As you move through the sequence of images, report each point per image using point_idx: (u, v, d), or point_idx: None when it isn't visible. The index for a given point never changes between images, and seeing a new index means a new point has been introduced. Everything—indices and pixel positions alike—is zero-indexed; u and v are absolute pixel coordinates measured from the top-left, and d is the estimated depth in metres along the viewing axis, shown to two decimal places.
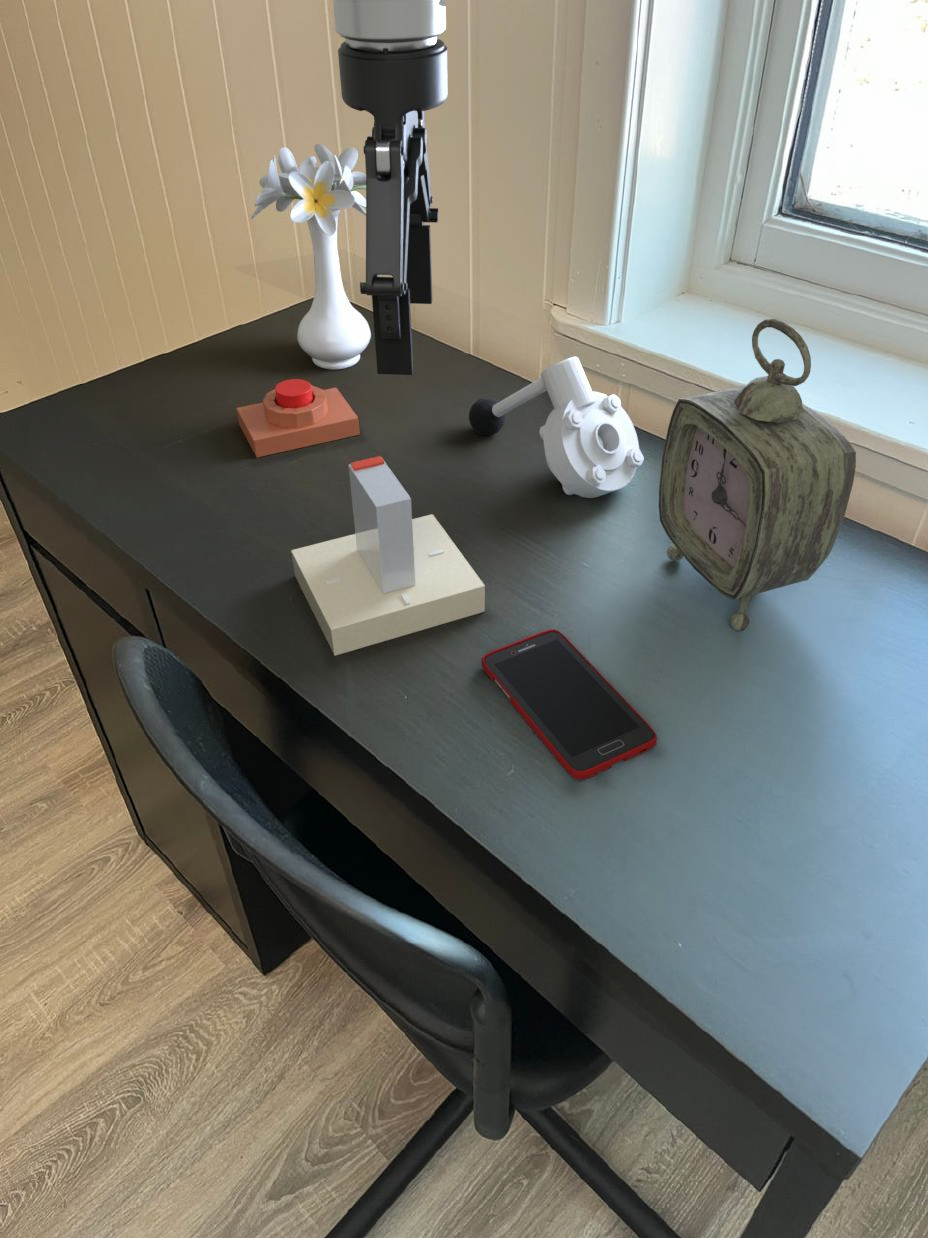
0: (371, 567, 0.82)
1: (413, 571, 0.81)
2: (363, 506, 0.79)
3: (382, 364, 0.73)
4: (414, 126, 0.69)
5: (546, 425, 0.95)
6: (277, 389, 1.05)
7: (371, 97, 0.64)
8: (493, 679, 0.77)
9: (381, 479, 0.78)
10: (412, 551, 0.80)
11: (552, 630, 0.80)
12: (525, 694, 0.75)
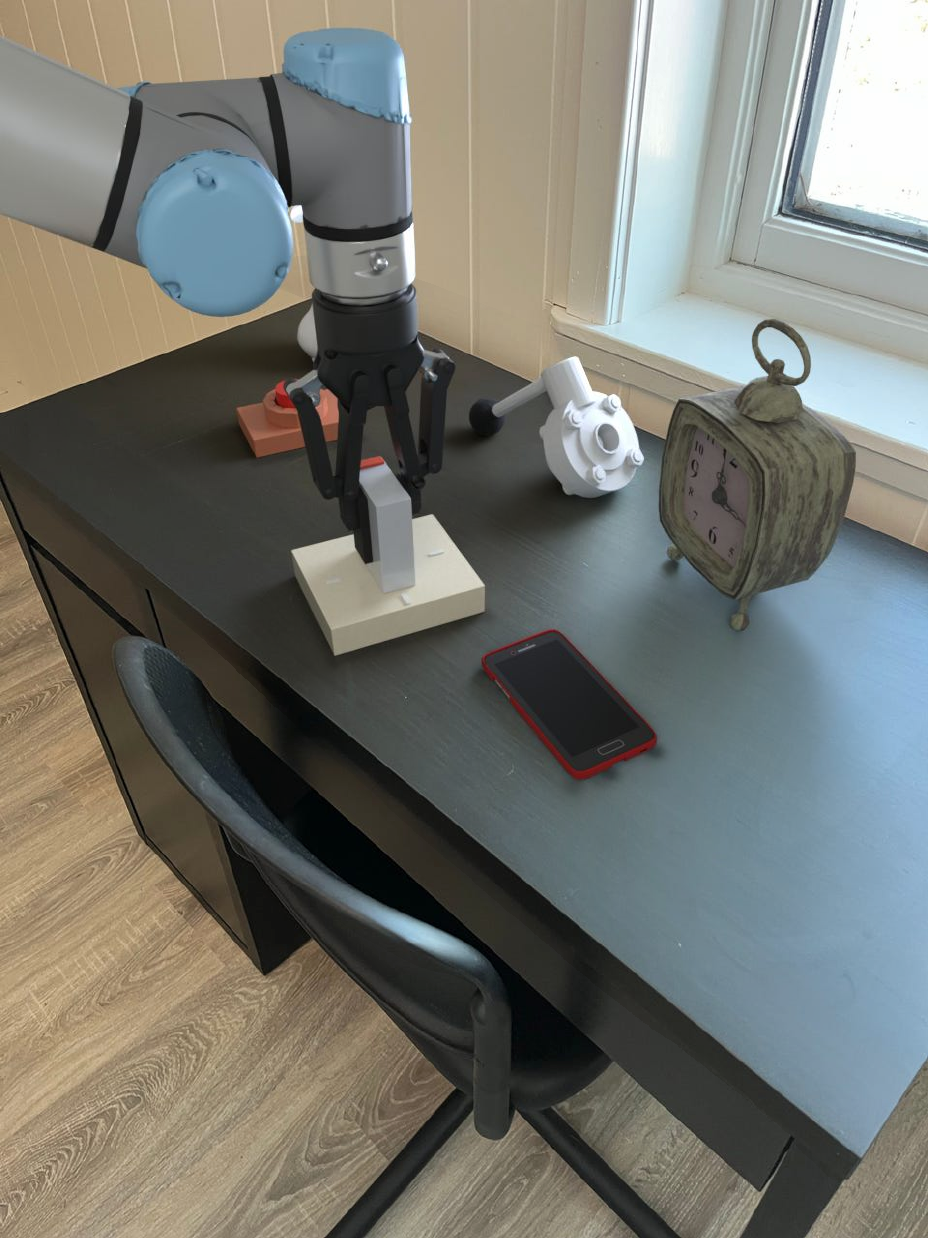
0: (371, 567, 0.82)
1: (413, 571, 0.81)
2: None
3: (355, 542, 0.82)
4: (389, 363, 0.71)
5: (546, 425, 0.95)
6: (277, 389, 1.05)
7: None
8: (493, 679, 0.77)
9: (381, 479, 0.78)
10: (412, 551, 0.80)
11: (552, 630, 0.80)
12: (525, 694, 0.75)
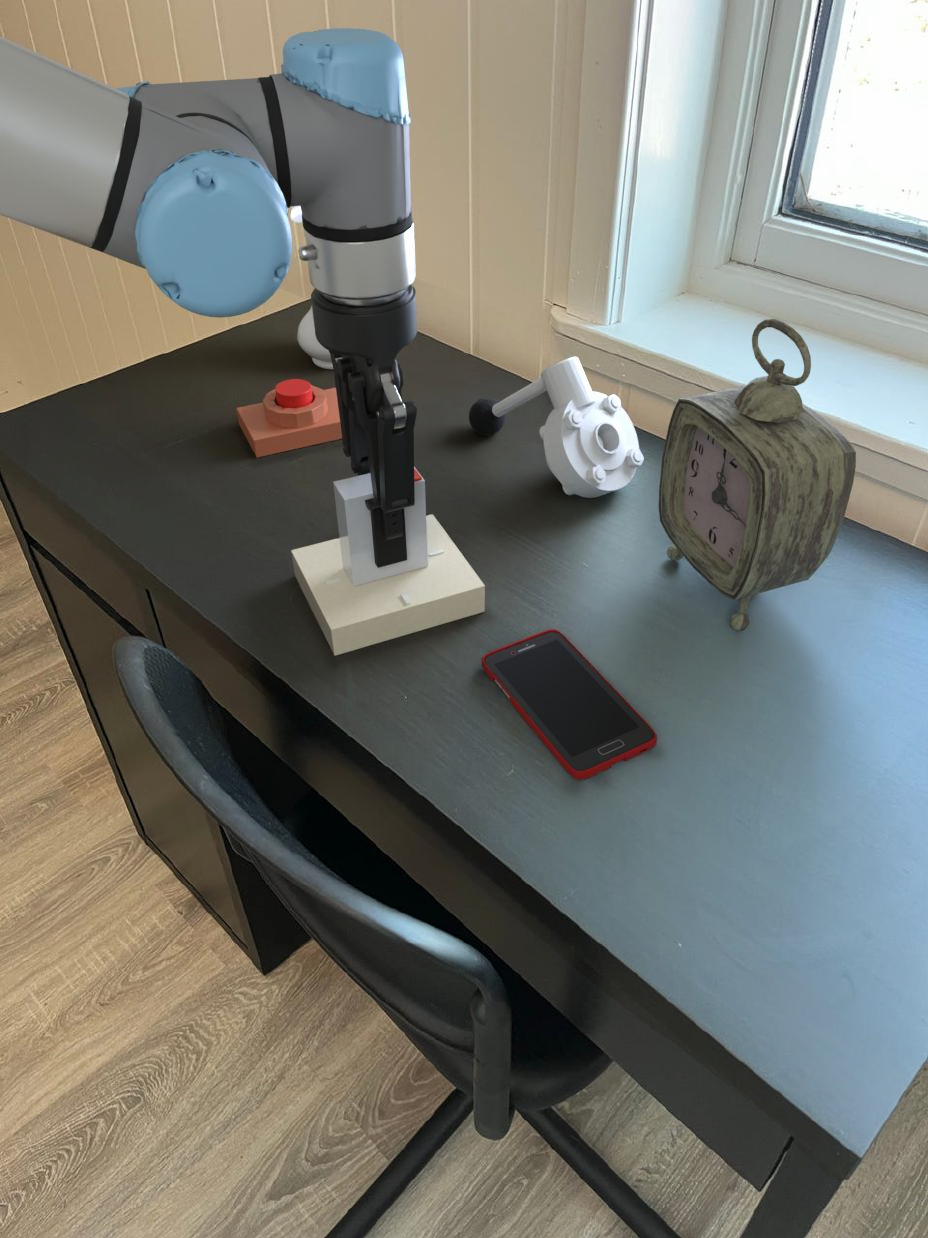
0: None
1: (351, 571, 0.81)
2: None
3: None
4: (359, 369, 0.70)
5: (546, 425, 0.95)
6: (277, 389, 1.05)
7: None
8: (493, 679, 0.77)
9: None
10: (349, 551, 0.80)
11: (552, 630, 0.80)
12: (525, 694, 0.75)
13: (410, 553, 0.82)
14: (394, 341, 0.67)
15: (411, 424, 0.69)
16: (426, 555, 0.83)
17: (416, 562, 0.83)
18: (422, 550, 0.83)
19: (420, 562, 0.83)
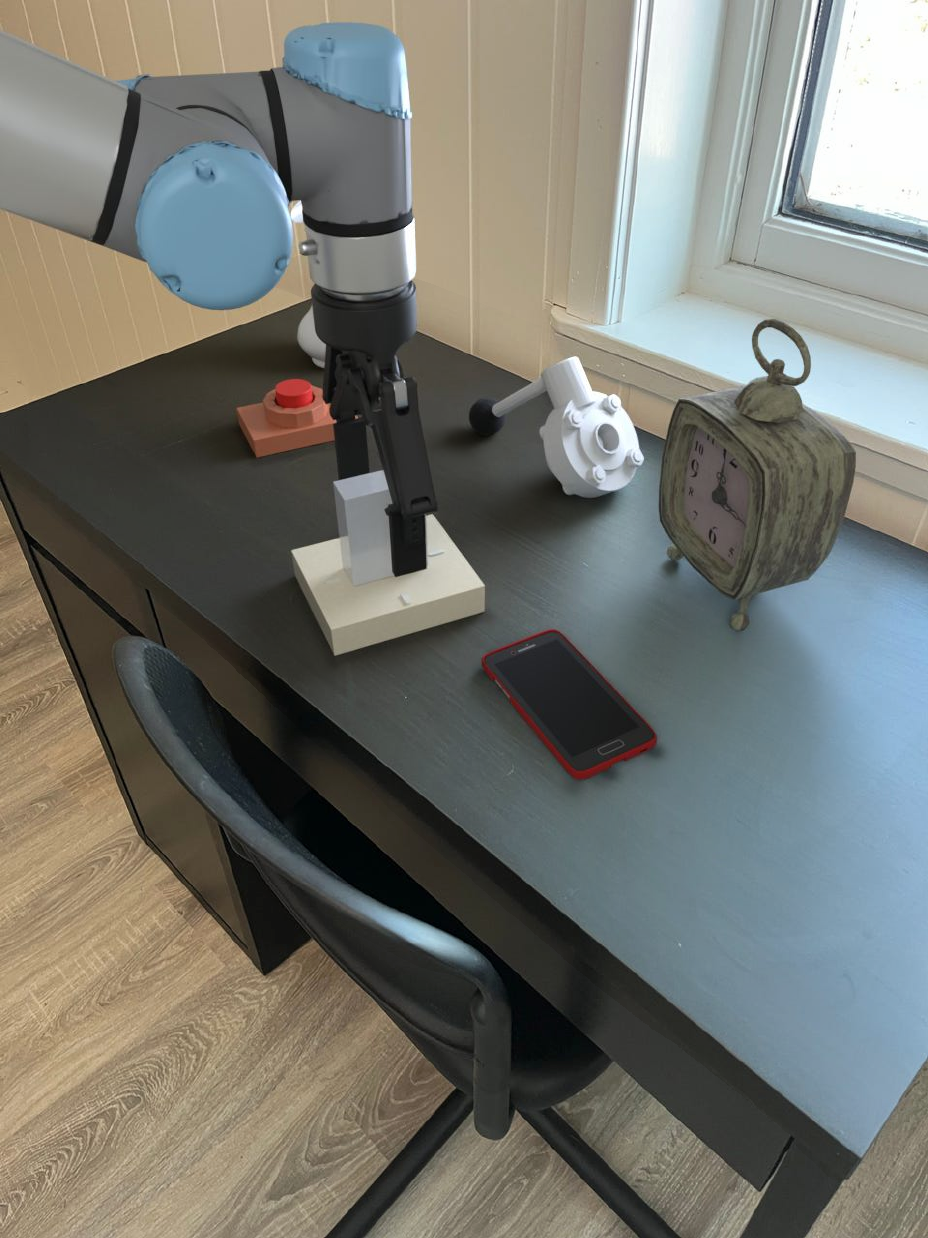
0: None
1: (351, 571, 0.81)
2: None
3: None
4: (358, 365, 0.70)
5: (546, 425, 0.95)
6: (277, 389, 1.05)
7: None
8: (493, 679, 0.77)
9: (380, 482, 0.78)
10: (349, 551, 0.80)
11: (552, 630, 0.80)
12: (525, 694, 0.75)
13: None
14: (394, 337, 0.67)
15: (414, 402, 0.67)
16: (426, 555, 0.83)
17: None
18: None
19: None
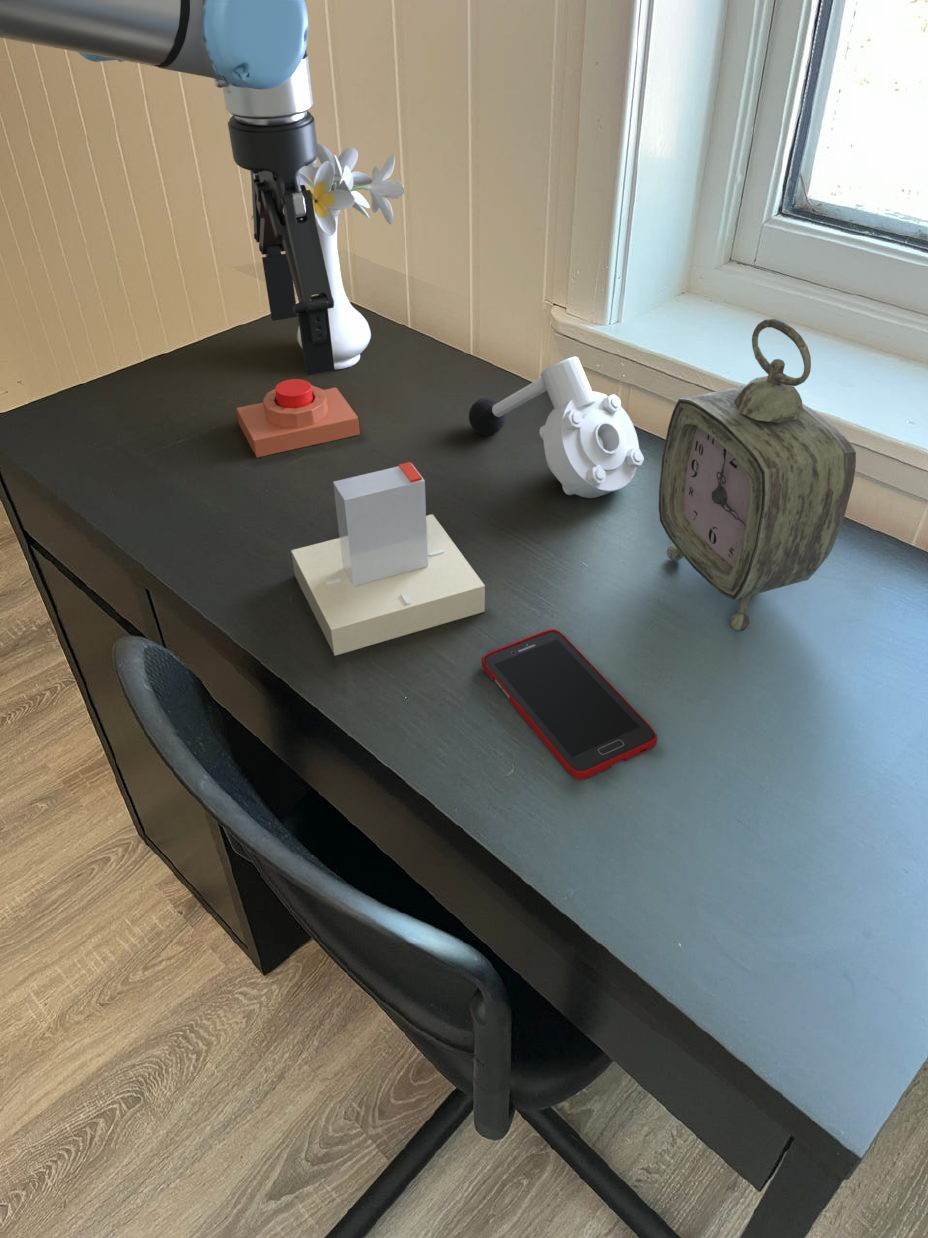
0: None
1: (351, 571, 0.81)
2: None
3: None
4: (270, 187, 0.85)
5: (546, 425, 0.95)
6: (277, 389, 1.05)
7: None
8: (493, 679, 0.77)
9: (380, 482, 0.78)
10: (349, 551, 0.80)
11: (552, 630, 0.80)
12: (525, 694, 0.75)
13: (410, 553, 0.82)
14: (295, 158, 0.82)
15: (311, 211, 0.82)
16: (426, 555, 0.83)
17: (416, 562, 0.83)
18: (422, 550, 0.83)
19: (420, 562, 0.83)
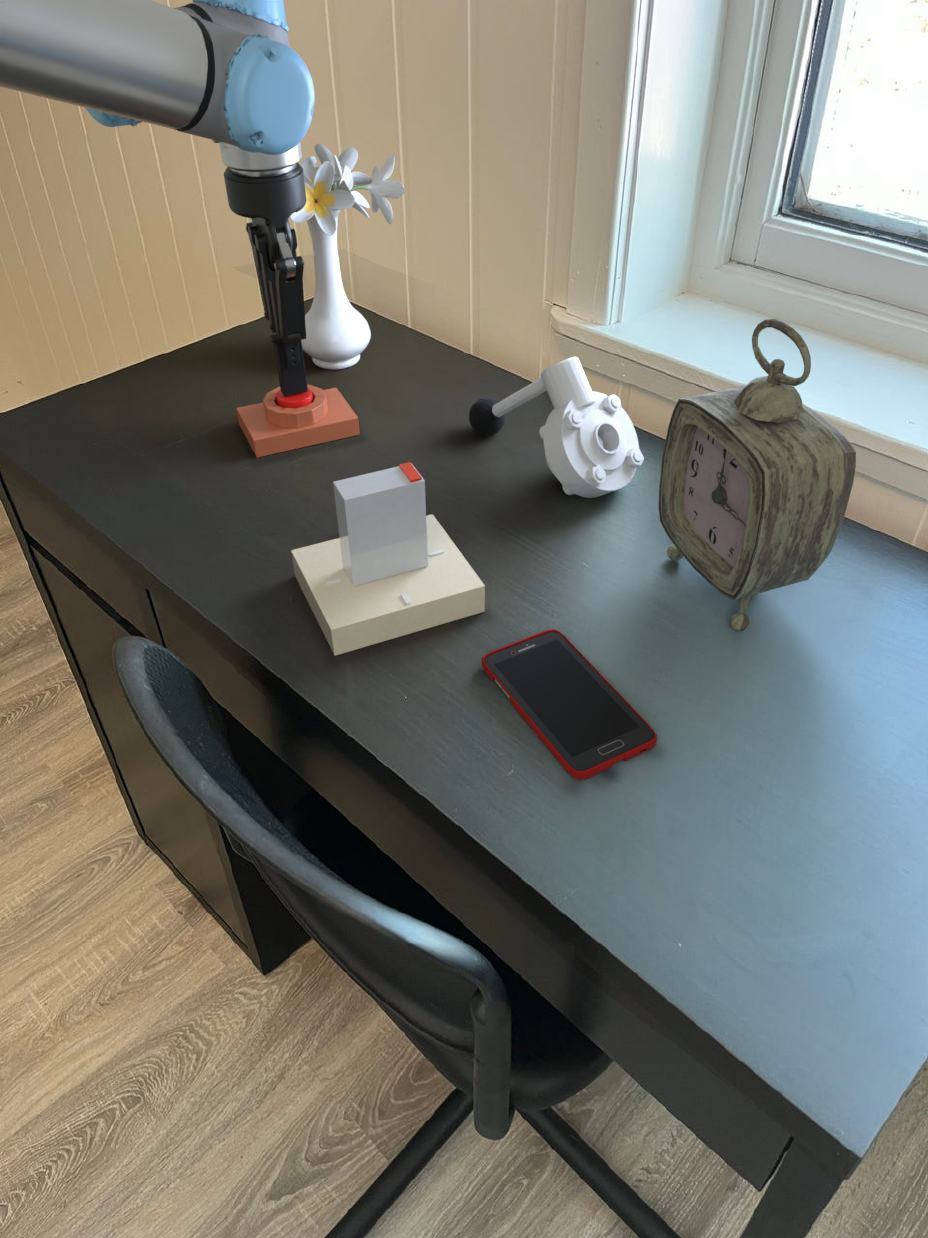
0: None
1: (351, 571, 0.81)
2: None
3: None
4: (262, 231, 0.92)
5: (546, 425, 0.95)
6: (278, 395, 1.05)
7: None
8: (493, 679, 0.77)
9: (380, 482, 0.78)
10: (349, 551, 0.80)
11: (552, 630, 0.80)
12: (525, 694, 0.75)
13: (410, 553, 0.82)
14: (285, 206, 0.89)
15: (300, 274, 0.92)
16: (426, 555, 0.83)
17: (416, 562, 0.83)
18: (422, 550, 0.83)
19: (420, 562, 0.83)
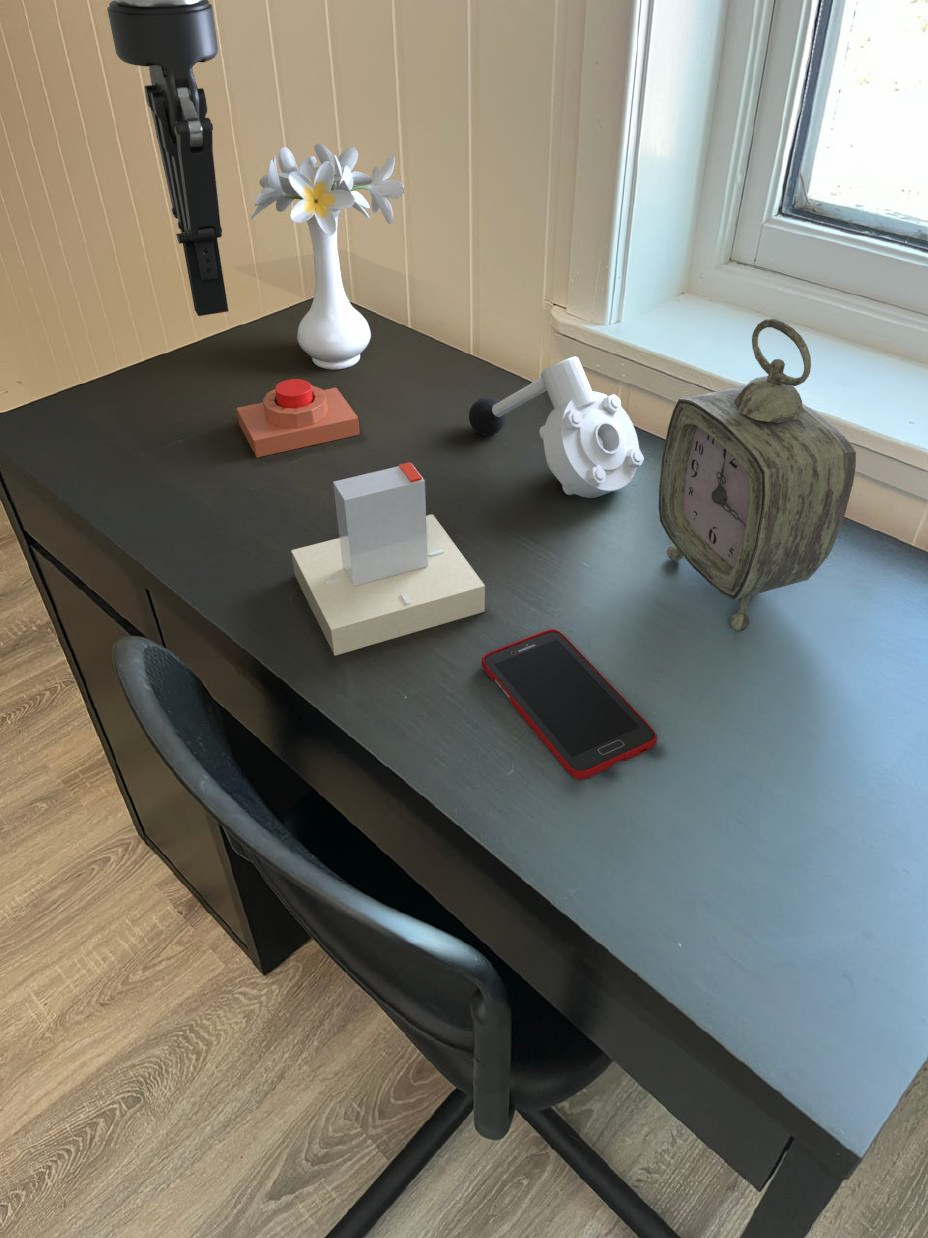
0: None
1: (351, 571, 0.81)
2: None
3: None
4: (161, 89, 0.72)
5: (546, 425, 0.95)
6: (277, 389, 1.05)
7: None
8: (493, 679, 0.77)
9: (380, 482, 0.78)
10: (349, 551, 0.80)
11: (552, 630, 0.80)
12: (525, 694, 0.75)
13: (410, 553, 0.82)
14: (188, 50, 0.69)
15: (208, 144, 0.71)
16: (426, 555, 0.83)
17: (416, 562, 0.83)
18: (422, 550, 0.83)
19: (420, 562, 0.83)
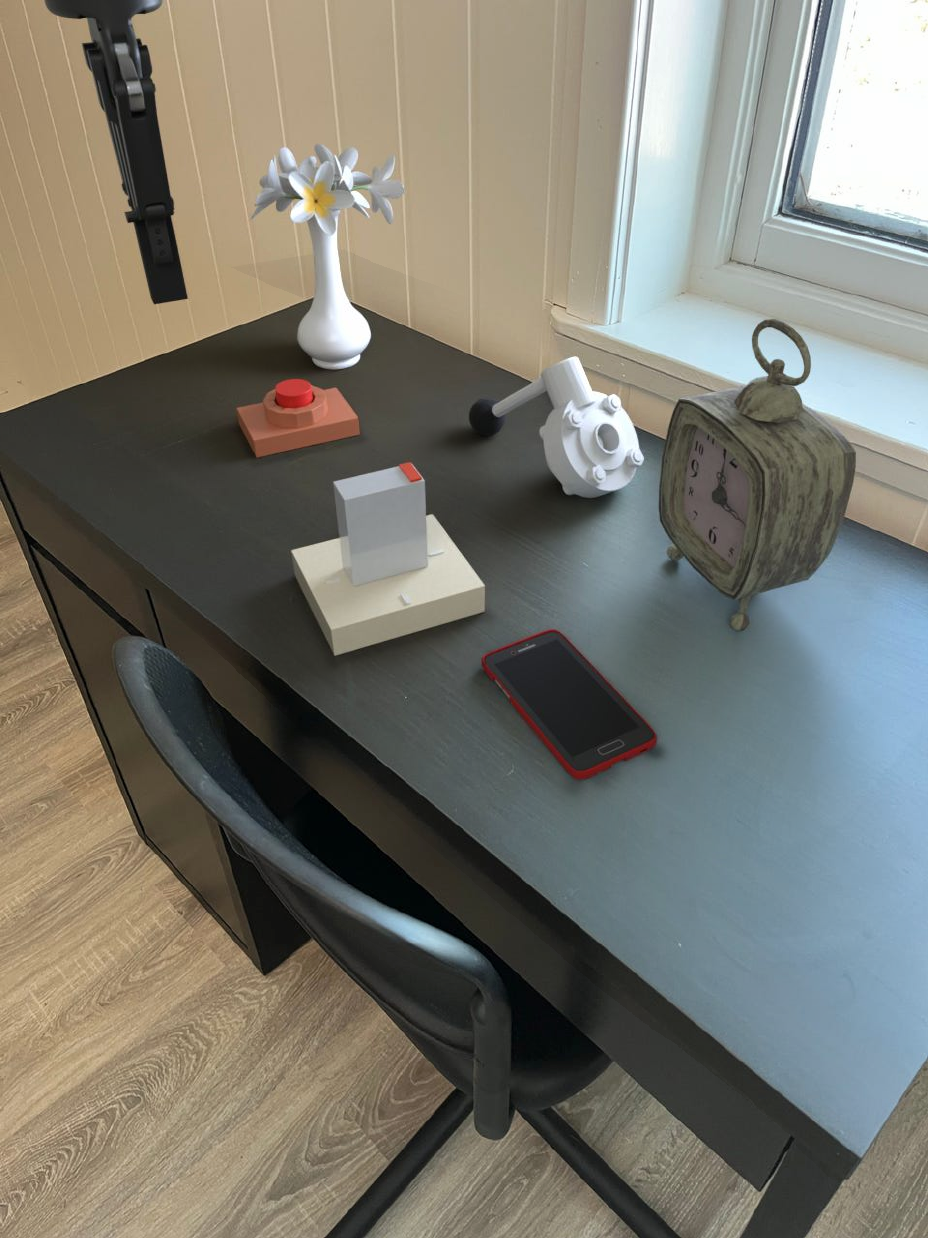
0: None
1: (351, 571, 0.81)
2: None
3: None
4: (98, 46, 0.63)
5: (546, 425, 0.95)
6: (277, 389, 1.05)
7: None
8: (493, 679, 0.77)
9: (380, 482, 0.78)
10: (349, 551, 0.80)
11: (552, 630, 0.80)
12: (525, 694, 0.75)
13: (410, 553, 0.82)
14: None
15: (152, 107, 0.63)
16: (426, 555, 0.83)
17: (416, 562, 0.83)
18: (422, 550, 0.83)
19: (420, 562, 0.83)
